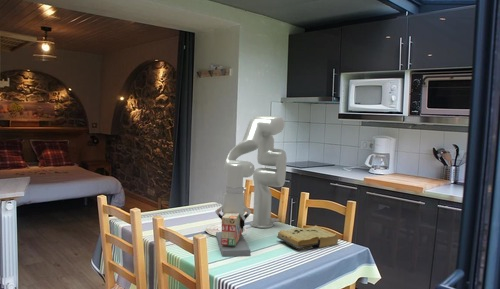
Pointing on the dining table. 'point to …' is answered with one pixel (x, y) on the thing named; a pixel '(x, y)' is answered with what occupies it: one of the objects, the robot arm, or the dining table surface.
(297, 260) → the dining table surface
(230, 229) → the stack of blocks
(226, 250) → the grey plinth
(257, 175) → the robot arm
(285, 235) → the book
